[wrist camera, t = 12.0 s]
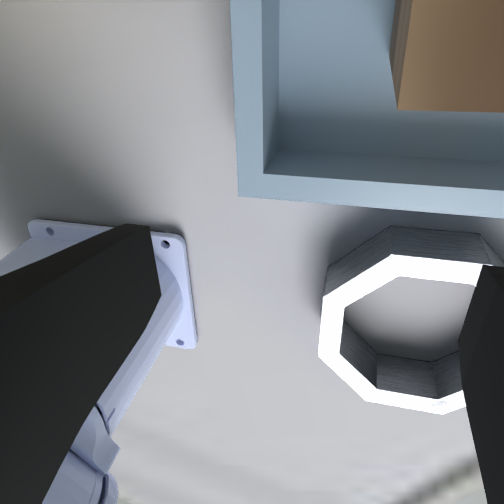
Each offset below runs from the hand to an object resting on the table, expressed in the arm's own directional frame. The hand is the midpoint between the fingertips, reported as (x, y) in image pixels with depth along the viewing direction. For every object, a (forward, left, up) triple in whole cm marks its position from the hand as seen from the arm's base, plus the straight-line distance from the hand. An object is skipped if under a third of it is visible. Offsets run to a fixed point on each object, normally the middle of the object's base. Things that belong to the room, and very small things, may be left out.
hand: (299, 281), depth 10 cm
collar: (+5, -8, -10) cm, 14 cm away
